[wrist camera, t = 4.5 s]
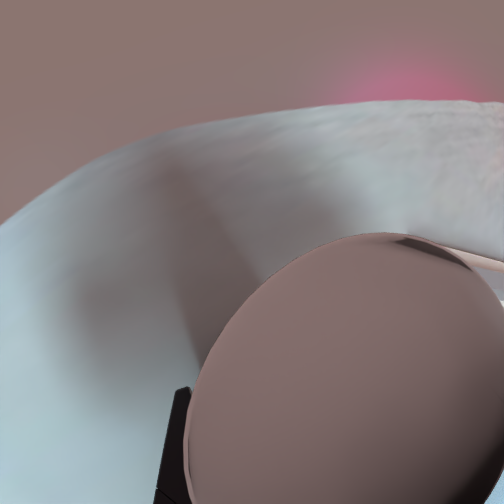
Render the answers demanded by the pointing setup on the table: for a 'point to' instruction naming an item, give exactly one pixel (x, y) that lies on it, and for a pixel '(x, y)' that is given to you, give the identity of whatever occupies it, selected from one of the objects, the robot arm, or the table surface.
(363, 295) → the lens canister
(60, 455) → the table surface
